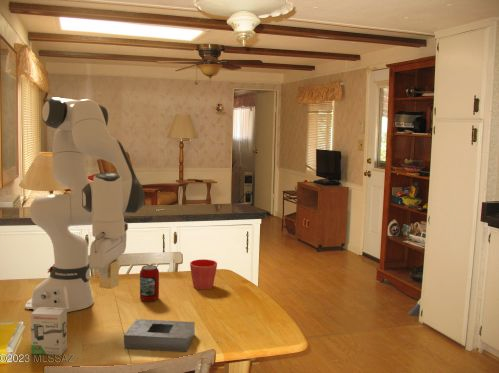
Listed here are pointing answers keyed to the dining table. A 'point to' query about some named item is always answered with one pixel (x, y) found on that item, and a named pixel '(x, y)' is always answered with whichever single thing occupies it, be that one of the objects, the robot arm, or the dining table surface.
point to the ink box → (48, 330)
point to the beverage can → (149, 283)
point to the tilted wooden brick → (110, 276)
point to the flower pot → (203, 273)
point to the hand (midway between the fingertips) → (108, 275)
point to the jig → (159, 335)
